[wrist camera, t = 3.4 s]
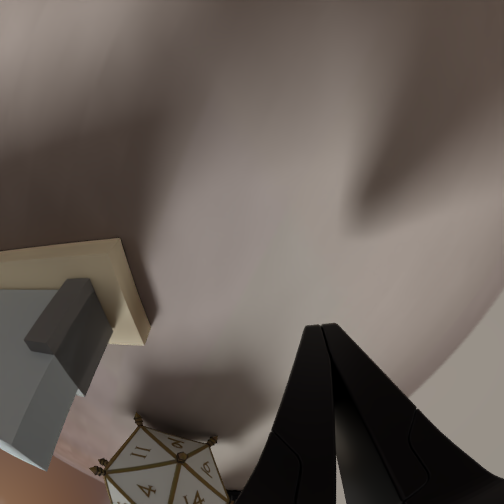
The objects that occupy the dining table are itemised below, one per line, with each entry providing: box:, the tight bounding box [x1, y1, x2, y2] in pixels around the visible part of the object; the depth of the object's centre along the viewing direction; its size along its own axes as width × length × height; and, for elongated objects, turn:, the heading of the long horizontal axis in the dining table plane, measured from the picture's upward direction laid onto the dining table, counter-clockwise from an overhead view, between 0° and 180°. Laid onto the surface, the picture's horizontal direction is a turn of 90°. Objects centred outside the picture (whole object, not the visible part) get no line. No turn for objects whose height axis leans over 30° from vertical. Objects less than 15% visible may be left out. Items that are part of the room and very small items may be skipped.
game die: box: [89, 412, 236, 504], centre depth 13 cm, size 9×8×10 cm
